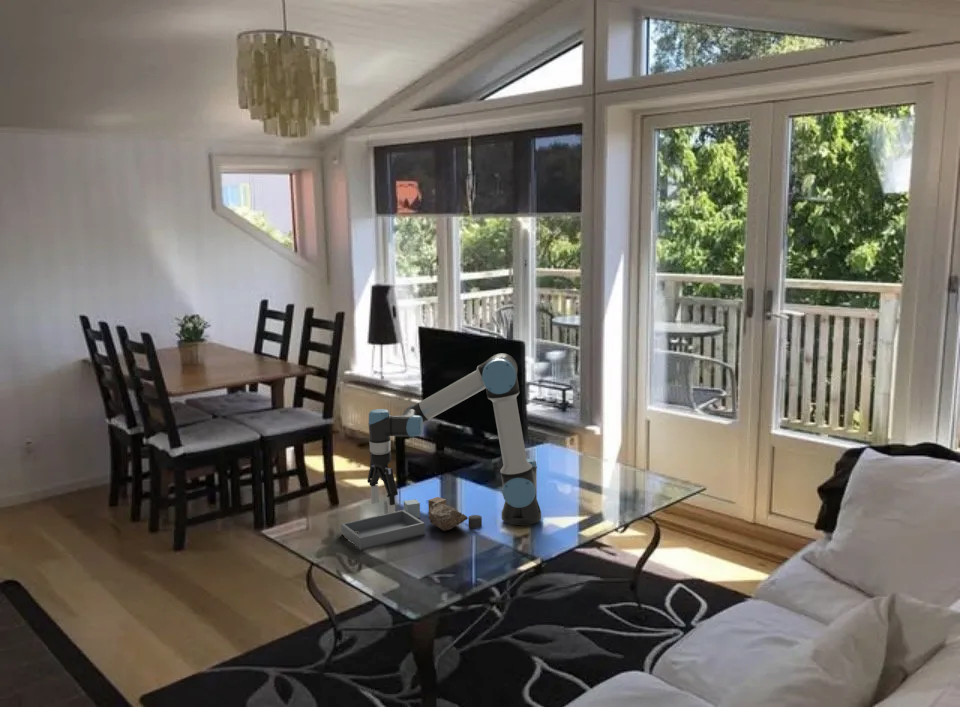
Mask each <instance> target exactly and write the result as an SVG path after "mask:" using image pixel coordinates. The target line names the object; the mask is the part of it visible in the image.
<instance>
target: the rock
mask: <svg viewBox="0 0 960 707" xmlns="http://www.w3.org/2000/svg"><path fill="white" fill-rule="evenodd" d="M428 519H429V520H430V521H429V522H430V524H431V525H433V526H435V527H437V528H438V529H440V530H442V531H443V532H445V531H449V530H451V529H453V528H454V527H456V526H458V525H460V524H461V523H464V522H465V521H467V520H469V517H468V516H467V515H465V514H464V513H462V512H460V511H459V510H457V509H456V508H454V507H452V506H450V505H447V504H446V505H444V504H441V503H439V502H435V503H434V504H432V505H431V506H430V508H429V507H428Z"/></svg>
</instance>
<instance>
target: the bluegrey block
mask: <svg viewBox="0 0 960 707" xmlns="http://www.w3.org/2000/svg"><path fill="white" fill-rule="evenodd" d="M403 510H404V511H406V512H408V513H409V514H411V515H413V516H414V517H416V518H417V519H419V518H421V503H420V502H419V501H418V500H417V499H415V498H414V499H409V500H403Z"/></svg>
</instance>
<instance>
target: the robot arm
mask: <svg viewBox="0 0 960 707" xmlns="http://www.w3.org/2000/svg"><path fill="white" fill-rule="evenodd" d="M518 371H519V370H518V363H517V362H516V360H515V359H514V358H513V357H512V356H511V355H510V354H507V353H501V352H500V353H497V354H493V356H491V357H490V358H488V359H487V360H486V361H484V362H483V363H481V364H479V365H477V367H476V370H474V371H472V372H471V373H468V374H467V375H465V376H464V377H462V378H460V379H458V380H456V381H454V382H453V383H451V384H449V385H448V386H446V387H444V388H442V389H440V390H438V391H436V392H435V393H433V394H431V395H430V396H428V397H426V398H425V399H422V400H421V401H419V402H417V403H415V404H414V405H410V406H408V407H407V408H406V409H405V410H404V411H403V413H402V414H401V415H400V414H399V415H391V414H390V411H389V410H388V409H385V408H377V409H371V411H369V412H368V423H367V424H368V434H369V435H368V436H369V443H368V444H369V452H370V454H369V459H370V460H369V469H368V470H369V471H368V476H367V481H366V482H367V483H368V484H369V486H370V500H371V504H372V505H373V504H377V503H379V502H380V500H379V499H380V498H379V497H380V495H379V479H380V480H381V481H382V482H383V485H384V487H385V490H386V493H387V495H386V502H387V503H386V504H387V506H386V507H387V513H388V514H390V513H395V512H396V497H395V496H398V495H399V492H398V488H397V485H396V481H395V476H394V470H393V468H392V467H391V468H390V467H389V464H390V463H391V462H392V452H391V451H392V450H391V444H392V441H391V437H412V438H413V437H420V436H422V434H423V433H424V432H423V431H424V423H426V422H427V421H429V420H431V419H433V418H434V417H436V416H438V415H440V414H442V413H443V412H445V411H447V410H449V409H450V408H453V407H455V406H456V405H458V404H460V403H462V402H463V401H465V400H467V399H469V398H470V397H472V396H474V395H476V394H478V393H479V392H481V391H484V390H485V391H486V396H487V399H488V400H490V401H491V402H492V406H493V412H494V419H495V424H496V429H497V436H498V440H499V441H498V442H499V446H500V452H501V458H502V464H503V466H502V467H501V468H500V478H501V484H502V490H501V491H502V492H501V493H502V494H501V495H502V497H503V499H504V503H503V507H502V510H501V520H502V521H503V522H505V523H508V524H511V525H517V526H527V525H533V524H536V523H538V522H540V521H541V520H542V510H541V507H540V504H539V501H538V499H537V496H538V493H537V492H538V490H537V489H538V488H537V485H538V482H537V481H538V480H537V478H538V477H537V474H538V473H537V472H538V471H537V470H538V465H537V461H536V460H535V459H532V458H528V457H527V452H526V447H525V441H524V435H523V430H522V429H523V428H522V424H521V423H522V422H521V419H520V418H521V417H520V413H519V407H518V399H517V397H518V396H519V394H520V385H519V381H518Z"/></svg>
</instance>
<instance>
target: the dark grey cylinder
mask: <svg viewBox="0 0 960 707" xmlns="http://www.w3.org/2000/svg"><path fill="white" fill-rule="evenodd" d="M482 520H483V518H482V516H481V515H479V514H472V515H469V516H468V529H470V530H473V529H474V530H475V529H478V528H480V527H482V524H483V522H482Z"/></svg>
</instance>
